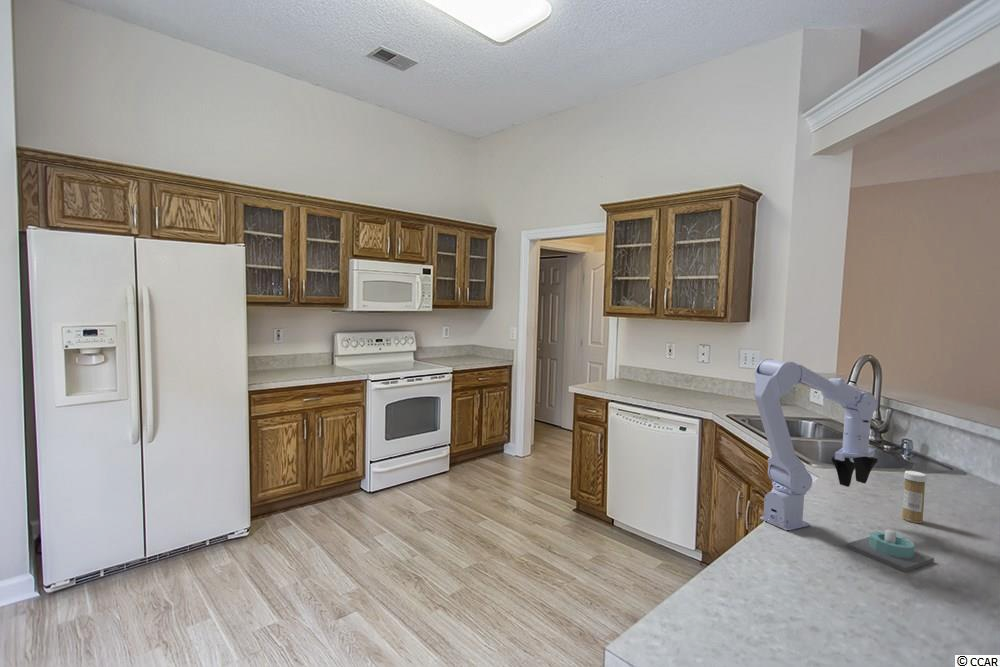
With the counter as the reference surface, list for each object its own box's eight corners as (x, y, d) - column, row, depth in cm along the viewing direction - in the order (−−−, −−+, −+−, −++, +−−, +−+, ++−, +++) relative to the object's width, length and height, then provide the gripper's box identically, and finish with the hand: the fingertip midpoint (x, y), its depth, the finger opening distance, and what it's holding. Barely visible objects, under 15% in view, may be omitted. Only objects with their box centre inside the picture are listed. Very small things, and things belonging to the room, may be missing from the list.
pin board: (905, 572, 105) (907, 547, 105) (846, 547, 116) (847, 525, 116) (933, 562, 110) (935, 538, 110) (874, 539, 121) (876, 517, 121)
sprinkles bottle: (925, 521, 134) (928, 473, 133) (919, 525, 131) (923, 476, 131) (904, 515, 137) (908, 469, 137) (898, 518, 135) (902, 471, 134)
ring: (901, 561, 108) (902, 550, 108) (862, 544, 116) (863, 534, 116) (920, 554, 112) (921, 543, 112) (881, 539, 119) (881, 529, 119)
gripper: (856, 440, 124) (853, 492, 125) (888, 436, 130) (884, 485, 131) (828, 433, 131) (824, 483, 131) (859, 430, 137) (856, 477, 137)
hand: (852, 483), depth 132 cm, fingers open, 7 cm apart
